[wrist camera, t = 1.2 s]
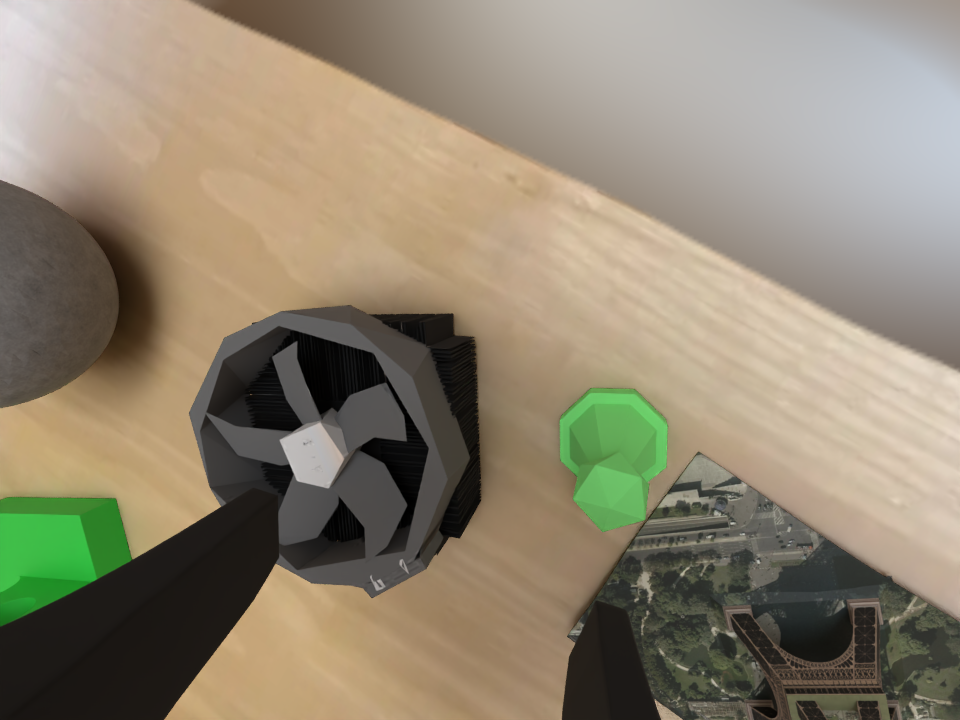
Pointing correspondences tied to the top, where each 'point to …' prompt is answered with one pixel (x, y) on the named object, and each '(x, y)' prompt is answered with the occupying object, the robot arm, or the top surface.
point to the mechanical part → (55, 549)
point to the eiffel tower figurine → (773, 616)
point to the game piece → (613, 454)
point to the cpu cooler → (347, 438)
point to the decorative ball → (49, 297)
